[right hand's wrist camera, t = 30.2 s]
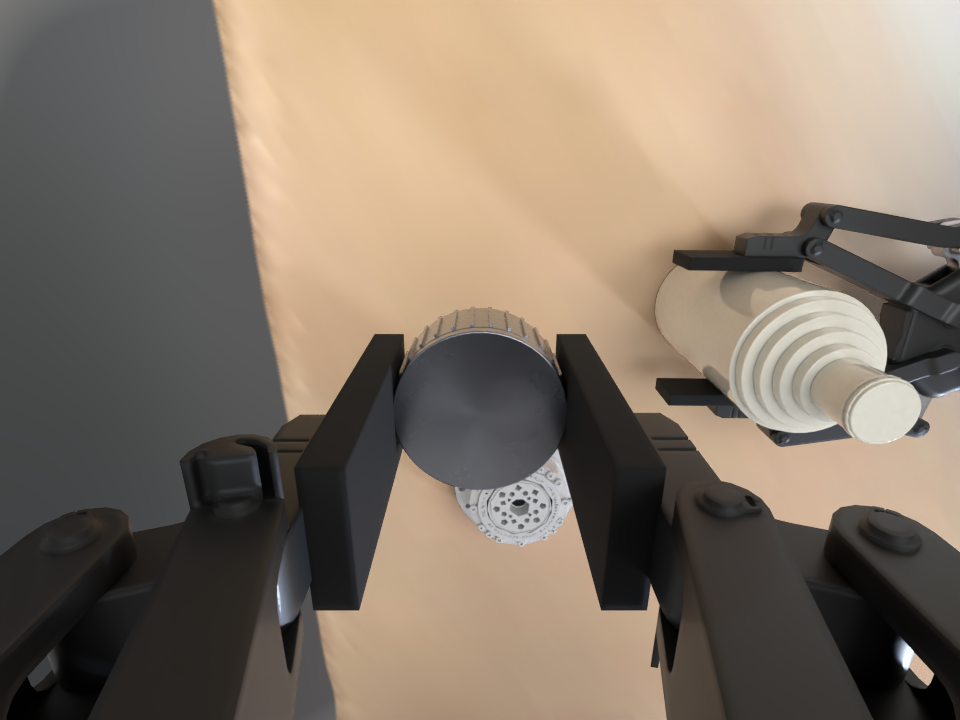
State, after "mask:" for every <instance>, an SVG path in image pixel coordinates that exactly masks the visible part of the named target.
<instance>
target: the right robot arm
mask: <svg viewBox="0 0 960 720" xmlns="http://www.w3.org/2000/svg"><path fill="white" fill-rule="evenodd" d="M404 358H405V352H404V334H375V335H374V336H373V338H372V340H371V341H370V343H369V345H368V346H367V348H366V350H365V351H364V353H363V355H362V356H361V358H360V359H359V361H358V363H357V364H356V366H355V368H354V369H353V371H352V373H351V374H350V376H349V378H348V379H347V381H346V383H345V384H344V386H343V387H342V389H341V391H340V392H339V394H338V396H337V397H336V399H335V401H334V402H333V404H332V406H331V407H330V409H329V411H328V412H327V414H326V415H299V416H298V417H296V418H295V419H293V420H291V421H290V422H288V423H287V424H285V425H283V426H282V427H281V429H280V430H279V431H278V433H277V434H276V435H275V437H274V438H273V441H272V440H271V439H269V438H268V437H263V436H259V435H235V436H229V437H223V438H219V439H216V440H213V441H210V442H207V443H204V444H202V445H200V446H198V447H196V448H195V449H193V450H191V451H189V452H188V453H187V454H186V455H185V456H184V457H183V458H182V459H181V460H180V465H181V470H182V474H183V478H184V483H185V487H186V492H187V496H188V501H189V505H190V512H189V514H188V516H187V518H186V520H185V522H182V523H178V524H174V525H170V526H164V527H159V528H154V529H149V530H144V531H139V532H132V528H131V525H130V521H129V517H128V516H127V515H126V514H125V513H123V512H122V511H121V510H117V509H112V508H96V509H84V510H79V511H77V512H71V513H68V514H65V515H62V516H61V517H60V518H57V519H55V520H53V521H50V522H48V523H46V524H44V525H42V526H41V527H39V528H37V529H36V530H34V531H33V532H31V533H30V534H28V535H26V536H25V537H24V538H23V539H21V540H20V541H19V542H17V543H16V544H15V545H14V546H12V547H11V548H10V549H9V550H7V551H6V552H5V553H4V554H2V555H1V556H0V720H293V717H294V709H295V701H296V693H297V684H298V676H299V668H300V660H301V652H302V644H303V635H304V628H303V621H302V614H301V606H302V603H303V601H304V598H305V596H306V593H307V591H308V588H309V586H310V589H311V596H312V603H313V610H359V609H360V605H361V601H362V598H363V594H364V590H365V586H366V583H367V579H368V575H369V571H370V568H371V564H372V560H373V557H374V553H375V549H376V545H377V542H378V538H379V534H380V531H381V527H382V523H383V519H384V516H385V512H386V508H387V505H388V501H389V497H390V493H391V490H392V486H393V482H394V479H395V475H396V471H397V467H398V464H399V460H400V456H401V452H402V449H403V447H402V445H401V444H400V442H399V440H398V437H397V434H396V431H395V422H394V405H393V397H394V393H395V389H396V386H397V383H398V381H399V378H400V375H398V373H399V371H400V368H401V365H402V363H403V360H404ZM556 359H557V362H558V364H559V367H560V370H561V372H562V375H563V377H562V378H561V380H562V382H563V385H564V388H565V391H566V396H567V413H566V428H565V433H564V435H563V438H562V441H561V442H560V444H559V446H558V451H559V455H560V459H561V462H562V466H563V470H564V473H565V477H566V481H567V485H568V488H569V492H570V496H571V499H572V503H573V507H574V511H575V514H576V518H577V522H578V526H579V529H580V533H581V537H582V540H583V544H584V548H585V552H586V555H587V559H588V563H589V566H590V570H591V574H592V578H593V581H594V585H595V589H596V592H597V596H598V600H599V604H600V607H601V610H647V606H648V599H649V592H650V584H651V585H652V587H653V590H654V592H655V595H656V597H657V600H658V602H659V605H660V607H659V614H658V620H657V627H656V634H655V640H654V647H653V654H652V661H651V667H655V668H658V665H659V659H660V667H661V675H662V683H663V691H664V700H665V708H666V716H667V720H960V552H959V551H958V550H956V549H955V548H954V547H952V546H951V545H950V544H949V543H947V542H946V541H945V540H943V539H942V538H941V537H940V536H938V535H937V534H936V533H934V532H933V531H931V530H930V529H928V528H926V527H925V526H923V525H922V524H920V523H919V522H917V521H915V520H912V519H910V518H908V517H905V516H903V515H901V514H900V513H898V512H895V511H892V510H888V509H886V510H884V508H880V507H875V506H872V507H871V506H860V505H853V506H847V507H841V508H839V509H838V510H837V511H836V512H834V513H833V515H832V519H831V523H830V526H829V530H824V529H819V528H814V527H808V526H803V525H798V524H793V523H788V522H784V521H780V520H776V519H774V517H773V515H772V513H771V511H770V509H769V508H768V506H767V505H766V504H765V503H764V502H763V500H762V499H761V498H759V497H758V496H756V495H755V494H753V493H752V492H750V491H749V490H747V489H744V488H742V487H739V486H737V485H734V484H732V483H727V482H722V481H721V480H720V479H719V478H718V476H717V475H716V474H715V472H714V471H713V470H712V469H711V467H710V466H709V465H708V463H707V462H706V461H705V459H704V458H703V457H702V455H701V454H700V453H699V451H696V447H695V446H694V445H693V443H692V442H691V441H690V440H688V437H687V435H686V434H685V433H684V431H683V430H682V429H681V427H680V426H679V425H678V424H677V423H675V422H674V421H672V420H671V419H669V418H667V417H666V416H664V415H662V414H661V413H633V412H632V410H631V408H630V407H629V405H628V403H627V402H626V400H625V398H624V397H623V395H622V393H621V392H620V390H619V388H618V387H617V385H616V384H615V382H614V380H613V379H612V377H611V375H610V374H609V372H608V370H607V369H606V367H605V365H604V364H603V362H602V360H601V359H600V357H599V356H598V354H597V352H596V351H595V349H594V347H593V346H592V344H591V342H590V341H589V339H588V337H587V336H586V334H557V340H556ZM914 653H916V654H917V655H918V657H919V658H920V659H921V660H922V661H923V662H924V663H925V664H926V665H927V666H928V667H929V668H930V670H931V671H932V672H933V673H934V676H933V679H932V681H931V683H930V685H929V686H927V685H926V684H925V683H923V682H922V681H921V680H920V679H919V678H918V677H917V676H916V675H915V674H914V673H913V671H912V670H911V669H910V668H909V666H910V663H911V661H912V658H913V655H914ZM46 656H48V659H49V662H50V665H51V667H52V671H51V672H50V673H49V674H48V675H47V676H46V677H45V678H44V680H43V681H41V682H40V683H39V684H38V685H36V686H35V687H34V688H33V687H32V686H31V685H30V682H29V680H28V677H27V676H28V675H29V674H30V673H31V672H32V671H33V670H34V669H35V668H36V667H37V665H38V664H39V663H40V662H41V661H42V660H43V659H44V658H45V657H46Z"/></svg>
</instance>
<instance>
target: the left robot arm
mask: <svg viewBox="0 0 960 720" xmlns="http://www.w3.org/2000/svg"><path fill="white" fill-rule="evenodd" d="M834 228H837V229H843V230H848V231H853V232H859V233H864V234H869V235H875V236H880V237H885V238H891V239H896V240H901V241H907V242H912V243H918V244H923V245H927V247H928V249H931V252H932V253H933V254H934V255H936V256H940V257H944V258H945V259H946V260H947V264H946V265H944V266H942V267H940V268H938V269H937V270H935V271H933V272H931V273H930V274H928V275H926V276H925V277H923V278H921V279H919V280H918V281H916V282H914V283H912V282H909V281H907V280H905V279H903V278H901V277H899V276H897V275H895V274H893V273H891V272H889V271H887V270H885V269H883V268H881V267H879V266H877V265H875V264H873V263H871V262H869V261H867V260H865V259H863V258H861V257H859V256H857V255H855V254H853V253H850V252H848V251H846V250H844V249H842V248H840V247H838V246H836V245H834V244H832V243H830V242H828V241H827V240H828V238H829V236H830V235H831V233H832V231H833V229H834ZM804 260H805V261H807V262H809V263H811V264H814V265H816V266H818V267H820V268H822V269H824V270H826V271H828V272H830V273H832V274H834V275H836V276H838V277H840V278H842V279H845V280H847V281H849V282H851V283H853V284H855V285H857V286H859V287H861V288H863V289H865V290H867V291H869V292H870V293H872V294H874V295H876V296H878V297H880V298H882V299H884V300H886V301H888V303H883V306H882V309H881V313H880V327H881V329H882V330H883V333H884V336H885V339H886V344H887V361H886V366H885V371H884V372H885V373H887V374H889V375H894V376H897V377H900V378H901V379H903V380H905V381H907V382H908V383H910V384H911V385H913V387H914V388H915V390H916V391H917V393H918V395H919V397H920V400H921V411H920V415H919V417H918V420H917V421H916V423H915V424H914V426H913V427H912V428H911V429H910V430H909V431H908V432H907V433H906V434H905V435H907V436H912V437H921V436H924V435H925V434H926V433H927V432H928V431H929V428H930V426H929V423H928V422H926V421H925V420H923V419H921V418H922V416H923V414H924V412H925V410H926V408H927V406H928V405H929V403H930V401H931V399H932V398H937V397H941V396H944V395H946V394H948V393H951V392H955V391H960V218H948V219H942V220H936V221H930V222H925V221H920V220H915V219H909V218H904V217H899V216H894V215H888V214H883V213H878V212H872V211H867V210H862V209H857V208H851V207H846V206H841V205H833V204H824V203H815V202H812V203H808V204H806V205H805V206H804V207H803V209H802V211H801V221H800V223H799V225H798V226H797V228H796V229H794V230H793V231H792V232H784V233H783V234H773V233H744V234H742V235H739V236H736V241H735V247H734V251H700V250H674V254H673V263H675V264H677V265H679V266H681V267H682V268H684V269H686V270H689V271H769V272H801V271H802V266H803V262H804ZM655 389H656V390H657V391H658V392H659V394H660V395H661V396H662V398H663V399H664V400H665V401H666V403H667V404H668V405H683V406H707V407H708V408H709V409H710V410H711V411H712V412H713V413H714V414H715V415H717V416H719V417H722V418H748V417H747V416H746V415H745V414H744V413H743V412H742V411H741V410H739V409H738V408H737V407H736V406H735V405H734V404H733V403H732V402H731V401H730V400H729V399H728V398H727V397H726V396H725V395H724V394H723V393H722V392H720V391H719V390H718V389H717V388H716V387H715V386H714V385H713V384H712V383H711V382H710V381H709V380H708V379H691V378H657V380H656V388H655ZM756 424H757V423H756ZM757 426H758V428H759V429H760V430H761V431H762V432H763V433H765V434H766V435H767V436H768V437H769V438H770V439H771V440H772V441H773V442H774V443H775V444H776V445H778V446H780V447H785V446H792V445H800V444H808V443H815V442H823V441H831V440H839V439H846V438H853V437H852V436H850V435H849V434H848V433H847V432H846V431H845V430H844V428H843V427H841V426H840V425H839V424H836V425H833V426H831V427H828V428H826V429H823V430H819V431H814V432H807V433H791V432H784V431H779V430H774V429H770V428H767V427H764V426H761V425H759V424H757Z"/></svg>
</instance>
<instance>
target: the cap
mask: <svg viewBox="0 0 960 720" xmlns="http://www.w3.org/2000/svg"><path fill="white" fill-rule="evenodd" d="M398 375H400V378H399V381H398V383H397V386H396V389H395V393H394V397H393V405H394V422H395V431H396V434H397V437H398V440H399V442H400V444H401V445H402V447H403V449H404V451H405V452H406V453H407V455H408V456H409V458H410V459H411V460H412V461H413V462H414V463H415V464H416V465H417V466H418V467H419V468H420V469H422V470H423V471H424V472H425V473H427V474H428V475H430V476H431V477H433V478H435V479H437V480H439V481H441V482H443V483H446V484H449V485H451V486H455V487H459V488H463V489H472V490H489V489H497V488H501V487H506V486H509V485H512V484H515V483H517V482H519V481H522V480H524V479H526V478H527V477H529V476H530V475H532V474H534V473H535V472H536V471H538V470H539V469H540V468H541V467H542V466H544V465H545V463H546V462H547V461H548V460H549V459H550V458H551V457H552V455H553V454H554V453H555V451H556V450H557V448H558V446H559V444H560V442H561V441H562V438H563V435H564V433H565V428H566V413H567V396H566V391H565V388H564V385H563V382H562V380H561V378H562V377H563V375H562V372H561V370H560V367H559V364H558V362H557V359H556V356H555V354H554V353H553V354H552V351H551V349H550V346H549V343H548V341H547V340H546V339H545V340H544V339H543V338H542V337H541V335H540V334H539V333H538V330H537V328H536V327H535V328H533V327H532V326H530V325H529V324H528V323H526V322H525V320H524V318H522V317H521V319H520V318H518V317H516V316H514V315H511V314H509V311H505V312H503V311H499V310H494V309H492V307H488V309H486V308H474V307H471V309H466V310H462V311H457V310H455V311H454V313H452V314H449V315H447V316H444V317H443V318H442V317H441V316H440V317H439V318H438V320H437V321H436V322H434V323H433V324H432V325H430V326H429V327H428V326H426V327H425V329H424V332H423V333H422V334H421V335H420V336H419V337H418V339H417V338H416V337H415V339H414V341H413V343H412V346H411V349H410V351H407V353H406V355H405V358H404V360H403V363H402V365H401V368H400V371H399V373H398Z"/></svg>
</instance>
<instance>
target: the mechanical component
mask: <svg viewBox="0 0 960 720" xmlns="http://www.w3.org/2000/svg"><path fill="white" fill-rule="evenodd" d="M455 492H456V496H457V500H458V502H459V504H460V506H461V508H462V510H463V511H464V513H465V514H466V515H467V516H468V517H469V519H471V520H472V521H473V522H474V523H476V524H477V526H478V530H480V531H483V532H484V533H485V535H486V537H487V538H493V539H495V541H496V542H497V543H509V544H518V545H519V546H521V547H524V545H525V544H528V543H532V542H535V541H538V540H547V538H548V535H550V534H555V533H556V532H557V528H558V527H559V526H561V525H563V524H564V521H563V520H564V518H565V516H566V514H567V513H568V511H569V510H570V509H571V508H572V506H573V503H572V499H571V496H570V492H569V488H568V485H567V481H566V477H565V473H564V470H563V466H562V462H561V459H560V455H559V451H558V448H557V450H556V451H555V453H554V454H553V455H552V457H551V458H550V459H549V460H548V461H547V462H546V463H545V465H544V466H542V467H541V468H540V469H539V470H538V471H536V472H535V473H534V474H532V475H530V476H529V477H527V478H526V479H524V480H522V481H519V482H517V483H515V484H512V485H509V486H506V487H501V488H497V489H489V490H472V489H463V488H459V487H455Z"/></svg>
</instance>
